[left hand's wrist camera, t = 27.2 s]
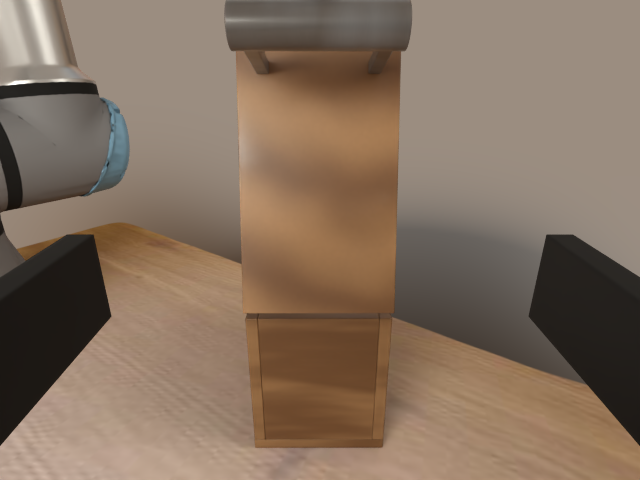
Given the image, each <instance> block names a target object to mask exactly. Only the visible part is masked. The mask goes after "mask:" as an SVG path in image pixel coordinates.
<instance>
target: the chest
mask: <svg viewBox="0 0 640 480" xmlns="http://www.w3.org/2000/svg"><path fill="white" fill-rule="evenodd" d="M391 327H392V317H391V314H390V313H247V316H246V332H247V345H248V358H249V370H250V383H251V396H252V409H253V421H254V434H255V447H256V448H313V447H382V445H383V432H384V419H385V406H386V392H387V379H388V366H389V353H390V340H391Z"/></svg>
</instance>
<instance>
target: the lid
mask: <svg viewBox="0 0 640 480" xmlns="http://www.w3.org/2000/svg"><path fill="white" fill-rule="evenodd" d="M224 14H225V29H226V36H227V41H228V45H229V47H230V50H231V51H236V69H237V106H238V143H239V179H240V216H241V253H242V289H243V313H394V305H395V266H396V227H397V188H398V149H399V109H400V70H401V51H405V50H406V49H407V47H408V43H409V40H410V34H411V26H412V5H411V1H410V0H226V2H225V13H224Z"/></svg>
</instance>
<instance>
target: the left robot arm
mask: <svg viewBox="0 0 640 480" xmlns="http://www.w3.org/2000/svg"><path fill="white" fill-rule="evenodd" d="M110 317H111V312H110V308H109V303H108V299H107V294H106V290H105V285H104V280H103V276H102V271H101V267H100V262H99V258H98V253H97V248H96V244H95V239H94V235H66V236H64V237H63V238H61V239H59V240H58V241H56V242H55V243H53V244H52V245H50V246H48V247H47V248H45V249H44V250H42V251H41V252H39V253H37V254H36V255H34V256H33V257H31V258H30V259H28V260H26V261H25V262H23V263H22V264H20V265H19V266H17V267H15V268H14V269H12V270H11V271H9V272H8V273H6V274H4V275H3V276H1V277H0V445H1V444H2V443H3V442H4V441H5V440H6V438H7V437H8V436H9V435H10V434H11V433H12V431H13V430H14V429H15V428H16V427H17V426H18V424H19V423H20V422H21V421H22V420H23V419H24V418H25V416H26V415H27V414H28V413H29V412H30V411H31V409H32V408H33V407H34V406H35V405H36V404H37V402H38V401H39V400H40V399H41V398H42V397H43V395H44V394H45V393H46V392H47V391H48V390H49V388H50V387H51V386H52V385H53V384H54V383H55V381H56V380H57V379H58V378H59V377H60V376H61V374H62V373H63V372H64V371H65V370H66V369H67V367H68V366H69V365H70V364H71V363H72V362H73V360H74V359H75V358H76V357H77V356H78V355H79V354H80V352H81V351H82V350H83V349H84V348H85V347H86V345H87V344H88V343H89V342H90V341H91V340H92V338H93V337H94V336H95V335H96V334H97V333H98V331H99V330H100V329H101V328H102V327H103V326H104V324H105V323H106V322H107V321H108V320H109V319H110ZM529 317H530V319H531V320H532V321H533V322H534V323H535V324H536V326H537V327H538V328H539V329H540V330H541V331H542V333H543V334H544V335H545V336H546V337H547V338H548V339H549V341H550V342H551V343H552V344H553V345H554V347H555V348H556V349H557V350H558V351H559V352H560V354H561V355H562V356H563V357H564V358H565V359H566V360H567V362H568V363H569V364H570V365H571V366H572V367H573V369H574V370H575V371H576V372H577V373H578V374H579V376H580V377H581V378H582V379H583V380H584V381H585V383H586V384H587V385H588V386H589V387H590V388H591V390H592V391H593V392H594V393H595V394H596V395H597V397H598V398H599V399H600V400H601V401H602V402H603V404H604V405H605V406H606V407H607V408H608V409H609V411H610V412H611V413H612V414H613V415H614V416H615V418H616V419H617V420H618V421H619V422H620V423H621V425H622V426H623V427H624V428H625V429H626V430H627V431H628V433H629V434H630V435H631V436H632V437H633V438H634V440H635V441H636V442H637V443H638V444H639V445H640V277H639V276H637V275H635V274H634V273H632V272H631V271H629V270H628V269H626V268H624V267H623V266H621V265H620V264H618V263H617V262H615V261H614V260H612V259H610V258H609V257H607V256H606V255H604V254H602V253H601V252H599V251H598V250H596V249H595V248H593V247H592V246H590V245H588V244H587V243H585V242H584V241H582V240H581V239H579V238H577V237H576V236H574V235H546V239H545V244H544V248H543V253H542V258H541V262H540V267H539V271H538V276H537V280H536V285H535V290H534V294H533V299H532V303H531V308H530V313H529Z"/></svg>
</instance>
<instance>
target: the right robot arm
mask: <svg viewBox="0 0 640 480" xmlns="http://www.w3.org/2000/svg"><path fill="white" fill-rule="evenodd" d="M128 161H129V136H128V130H127V126H126V123H125V120H124V118H123V116H122V115H121V114H120V110H119V108H118V107H117V106H116V104H114V103H113V102H112V101H110V100H107V99H105V98H99V94H98V90H97V86H96V82H95V81H94V80H92V79H91V78H90V77H88V76H87V75H86V74H84V73H83V72H82V71H81V70H80V69H79V68H78V66H77V62H76V58H75V54H74V50H73V46H72V42H71V38H70V35H69V31H68V27H67V23H66V19H65V15H64V11H63V7H62V4H61V0H0V213H1V212H3V211H8V210H12V209H17V208H23V207H27V206H32V205H37V204H42V203H47V202H52V201H56V200H61V199H66V198H71V197H76V196H88V195H90V194H92V193H95V192H99V191H102V190H106V189H110V188H112V187H114V186H116V185H117V184H118V183H119V182H120V181H121V179H122V178H123V176H124V174H125V170H126V169H127V166H128ZM23 262H25V260H24V258H23V257H22V256H21V255H20V253H19V252H18V251H17V249H16V248H15V247H14V246H13V244H12V243H11V242H10V241H9V239H8V238H7V236H6V234H5V231H4V228H3V224H2V221H1V216H0V277H1V276H3V275H4V274H6V273H8V272H9V271H11V270H12V269H14V268H15V267H17V266H19V265H20V264H22V263H23Z"/></svg>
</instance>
